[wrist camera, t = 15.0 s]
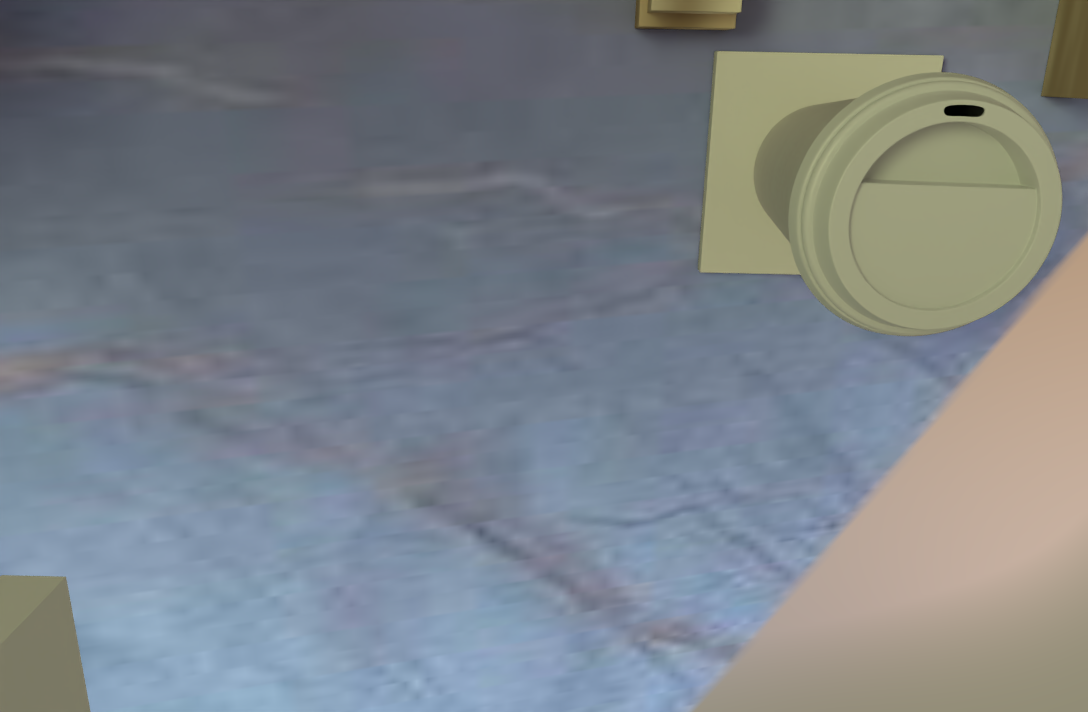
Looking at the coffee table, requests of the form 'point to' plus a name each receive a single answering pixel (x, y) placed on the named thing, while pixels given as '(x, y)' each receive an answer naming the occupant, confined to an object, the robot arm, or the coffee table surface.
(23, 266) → the coffee table surface
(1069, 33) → the frame
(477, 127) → the coffee table surface
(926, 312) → the coffee cup
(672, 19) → the offcut stack
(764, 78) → the ceramic tile
